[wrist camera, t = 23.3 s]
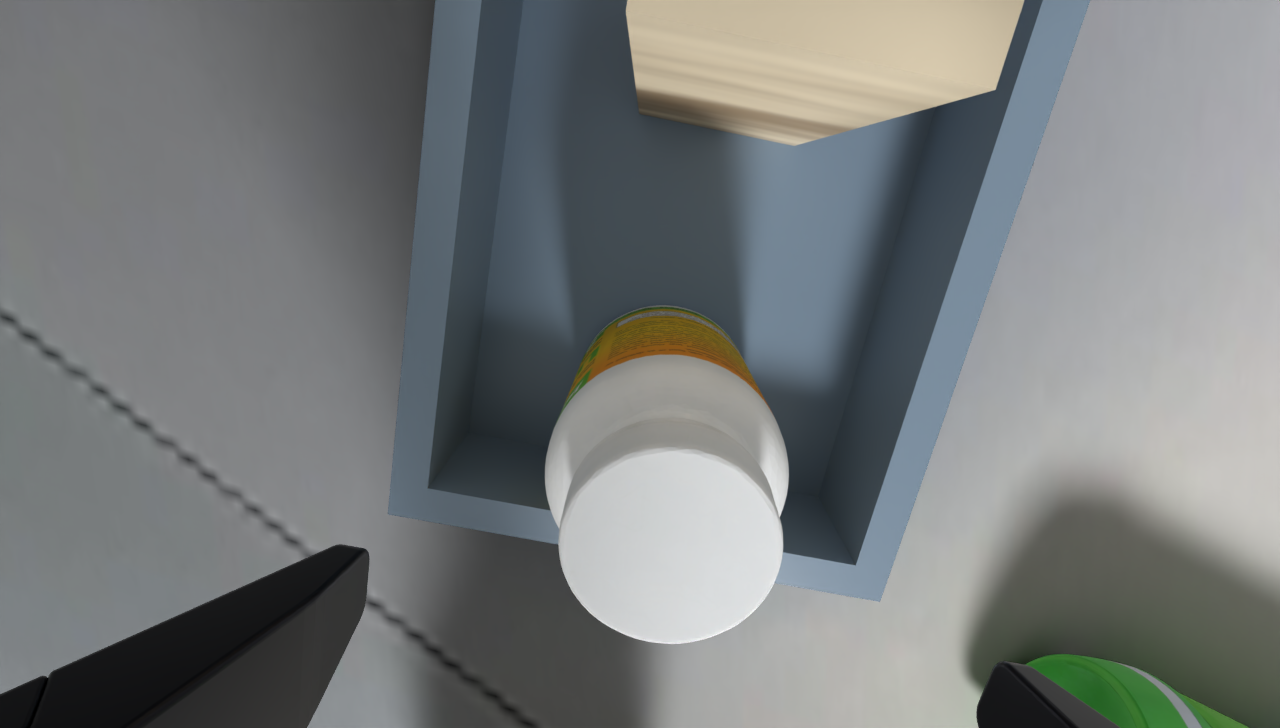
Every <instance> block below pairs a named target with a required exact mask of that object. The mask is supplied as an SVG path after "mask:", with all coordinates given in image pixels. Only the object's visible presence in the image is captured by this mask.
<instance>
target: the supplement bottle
mask: <svg viewBox="0 0 1280 728" xmlns="http://www.w3.org/2000/svg"><path fill="white" fill-rule="evenodd" d="M788 482H789V465H788V457H787V452H786V447H785V443H784V440H783V437H782V434H781V432H780V429H779V426H778V424H777V422H776V419H775V417H774V415H773V413H772V411H771V409H770V408H769V406H768V404H767V402H766V401H765V399H764V397H763V395H762V393H761V392H760V390H759V388H758V386H757V384H756V382H755V381H754V379H753V377H752V375H751V373H750V371H749V369H748V367H747V365H746V363H745V361H744V359H743V358H742V356H741V354H740V352H739V350H738V348H737V347H736V345H735V344H734V342H733V341H732V340H731V338H730V337H729V336H728V334H727V333H726V332H725V331H724V330H723V329H722V328H721V327H720V326H718V325H717V324H716V323H715V322H713V321H712V320H711V319H709V318H707V317H706V316H704V315H702V314H700V313H698V312H695V311H692V310H690V309H686V308H682V307H677V306H669V305H656V306H648V307H643V308H639V309H636V310H633V311H630V312H628V313H626V314H623V315H621V316H620V317H618V318H616V319H615V320H613V321H612V322H610V323H609V324H608V325H607V326H606V327H604V328H603V329H602V330H601V331H600V332H599V333H598V335H597V336H596V337H595V338H594V340H593V341H592V342H591V344H590V346H589V347H588V349H587V351H586V352H585V355H584V357H583V359H582V361H581V364H580V366H579V369H578V372H577V374H576V376H575V379H574V382H573V384H572V387H571V389H570V392H569V394H568V396H567V399H566V401H565V404H564V406H563V409H562V411H561V413H560V415H559V418H558V420H557V422H556V425H555V427H554V430H553V433H552V436H551V439H550V443H549V446H548V451H547V455H546V463H545V487H546V495H547V499H548V503H549V506H550V510H551V512H552V515H553V518H554V520H555V522H556V524H557V526H558V528H559V540H558V545H559V556H560V562H561V566H562V570H563V573H564V575H565V578H566V580H567V582H568V584H569V586H570V588H571V590H572V592H573V593H574V595H575V596H576V598H577V599H578V600H579V601H580V603H581V604H582V605H583V606H584V607H585V608H586V609H587V610H588V611H589V612H590V613H591V614H592V615H593V616H594V617H596V618H597V619H598V620H599V621H601V622H602V623H604V624H605V625H607V626H609V627H610V628H612V629H614V630H616V631H618V632H620V633H622V634H624V635H627V636H629V637H632V638H635V639H639V640H644V641H647V642H654V643H665V644H677V643H688V642H694V641H699V640H703V639H706V638H710V637H713V636H715V635H718V634H720V633H722V632H724V631H727V630H729V629H731V628H733V627H734V626H736V625H737V624H739V623H740V622H742V621H743V620H744V619H745V618H747V617H748V616H749V615H750V614H751V613H753V612H754V611H755V610H756V609H757V607H758V606H759V605H760V604H761V603H762V602H763V600H764V599H765V598H766V596H767V595H768V593H769V592H770V590H771V588H772V586H773V585H774V582H775V580H776V577H777V575H778V572H779V569H780V565H781V561H782V555H783V529H782V524H781V520H780V516H781V513H782V510H783V507H784V504H785V500H786V496H787V490H788Z"/></svg>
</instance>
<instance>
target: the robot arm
mask: <svg viewBox="0 0 1280 728" xmlns="http://www.w3.org/2000/svg"><path fill="white" fill-rule="evenodd" d="M368 571H369V553H368V551H367V550H366V549H364V548H359V547H353V546H348V545H342V544H339V545H335V546H332V547H330V548H328V549H326V550H323V551H321V552H319V553H317V554H315V555H312V556H310V557H308V558H306V559H303V560H301V561H299V562H297V563H294V564H292V565H290V566H288V567H285V568H283V569H281V570H279V571H276V572H274V573H272V574H270V575H267V576H265V577H263V578H261V579H258V580H256V581H254V582H252V583H249V584H247V585H245V586H243V587H241V588H238V589H236V590H234V591H232V592H229V593H227V594H225V595H223V596H220V597H218V598H216V599H214V600H211V601H209V602H207V603H205V604H202V605H200V606H198V607H196V608H193V609H191V610H189V611H187V612H184V613H182V614H180V615H178V616H175V617H173V618H171V619H169V620H167V621H164V622H162V623H160V624H158V625H155V626H153V627H151V628H149V629H146V630H144V631H142V632H140V633H137V634H135V635H133V636H131V637H128V638H126V639H124V640H122V641H119V642H117V643H115V644H113V645H110V646H108V647H106V648H104V649H101V650H99V651H97V652H95V653H92V654H90V655H88V656H86V657H83V658H81V659H79V660H77V661H74V662H72V663H70V664H68V665H65V666H63V667H61V668H59V669H56V670H54V671H53V672H51V673H50V675H49V677H48V678H47V677H46V676H40V677H38V678H36V679H34V680H31V681H29V682H27V683H25V684H22V685H20V686H18V687H16V688H14V689H11V690H9V691H7V692H5V693H2V694H0V728H307V726H308V725H309V723H310V721H311V719H312V717H313V715H314V713H315V711H316V709H317V707H318V705H319V703H320V701H321V699H322V697H323V695H324V693H325V691H326V689H327V687H328V685H329V682H330V680H331V678H332V676H333V674H334V672H335V670H336V668H337V666H338V664H339V662H340V660H341V658H342V656H343V654H344V652H345V649H346V647H347V645H348V643H349V641H350V639H351V637H352V635H353V633H354V631H355V629H356V627H357V625H358V623H359V621H360V618H361V616H362V613H363V611H364V607H365V603H366V595H367V583H368ZM977 722H978V726H979V728H1121V727H1119V726H1118V725H1116V724H1115V723H1113V722H1112V721H1110V720H1109V719H1107V718H1106V717H1104V716H1103V715H1101V714H1100V713H1099V712H1097V711H1096V710H1094V709H1093V708H1091V707H1090V706H1088V705H1087V704H1085V703H1084V702H1082V701H1081V700H1080V699H1078V698H1077V697H1075V696H1074V695H1072V694H1071V693H1069V692H1068V691H1066V690H1065V689H1063V688H1062V687H1061V686H1059V685H1058V684H1056V683H1055V682H1053V681H1052V680H1050V679H1049V678H1047V677H1046V676H1044V675H1043V674H1041V673H1040V672H1039V671H1037V670H1036V669H1034V668H1032V667H1030V666H1028V665H1024V664H1018V663H1012V662H1006V661H1002V662H999V663H997V664H996V665H995V666H994V668H993V670H992V672H991V674H990V677H989V679H988V681H987V684H986V686H985V689H984V691H983V693H982V696H981V698H980V700H979V703H978V706H977Z"/></svg>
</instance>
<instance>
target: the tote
mask: <svg viewBox="0 0 1280 728" xmlns="http://www.w3.org/2000/svg"><path fill="white" fill-rule="evenodd" d="M627 1H628V0H435V10H434V21H433V31H432V42H431V53H430V64H429V75H428V85H427V96H426V107H425V118H424V129H423V139H422V150H421V161H420V172H419V183H418V193H417V204H416V215H415V226H414V237H413V248H412V258H411V269H410V280H409V291H408V302H407V312H406V323H405V334H404V345H403V356H402V366H401V377H400V388H399V399H398V410H397V420H396V431H395V442H394V453H393V464H392V474H391V485H390V496H389V507H388V514H389V515H395V516H400V517H406V518H412V519H417V520H423V521H428V522H434V523H440V524H445V525H451V526H457V527H462V528H468V529H473V530H479V531H485V532H490V533H496V534H502V535H507V536H513V537H518V538H524V539H530V540H535V541H541V542H547V543H552V544H558V540H559V528H558V526H557V524H556V522H555V520H554V518H553V515H552V512H551V510H550V506H549V503H548V499H547V495H546V487H545V463H546V455H547V451H548V446H549V443H550V439H551V436H552V433H553V430H554V427H555V425H556V422H557V420H558V418H559V415H560V413H561V411H562V409H563V406H564V404H565V401H566V399H567V396H568V394H569V392H570V389H571V387H572V384H573V382H574V379H575V376H576V374H577V372H578V369H579V366H580V364H581V361H582V359H583V357H584V355H585V352H586V351H587V349H588V347H589V346H590V344H591V342H592V341H593V340H594V338H595V337H596V336H597V335H598V333H599V332H600V331H601V330H602V329H603V328H604V327H606V326H607V325H608V324H609V323H610V322H612V321H613V320H615V319H616V318H618V317H620V316H621V315H623V314H626V313H628V312H630V311H633V310H636V309H639V308H643V307H648V306H656V305H669V306H677V307H682V308H686V309H690V310H692V311H695V312H698V313H700V314H702V315H704V316H706V317H707V318H709V319H711V320H712V321H713V322H715V323H716V324H717V325H718V326H720V327H721V328H722V329H723V330H724V331H725V332H726V333H727V334H728V336H729V337H730V338H731V340H732V341H733V342H734V344H735V345H736V347H737V348H738V350H739V352H740V354H741V356H742V358H743V359H744V361H745V363H746V365H747V367H748V369H749V371H750V373H751V375H752V377H753V379H754V381H755V382H756V384H757V386H758V388H759V390H760V392H761V393H762V395H763V397H764V399H765V401H766V402H767V404H768V406H769V408H770V409H771V411H772V413H773V415H774V417H775V419H776V422H777V424H778V426H779V429H780V432H781V434H782V437H783V440H784V443H785V447H786V452H787V457H788V465H789V482H788V490H787V496H786V500H785V504H784V507H783V510H782V513H781V516H780V520H781V524H782V529H783V555H782V561H781V565H780V569H779V572H778V575H777V577H776V580H775V582H774V583H777V584H783V585H788V586H794V587H800V588H805V589H811V590H817V591H822V592H828V593H833V594H839V595H845V596H850V597H856V598H862V599H867V600H873V601H878V602H880V600H881V597H882V594H883V592H884V589H885V586H886V583H887V580H888V577H889V574H890V572H891V569H892V566H893V563H894V560H895V557H896V554H897V551H898V549H899V546H900V543H901V540H902V537H903V534H904V531H905V529H906V526H907V523H908V520H909V517H910V514H911V511H912V509H913V506H914V503H915V500H916V497H917V494H918V491H919V489H920V486H921V483H922V480H923V477H924V474H925V471H926V469H927V466H928V463H929V460H930V457H931V454H932V451H933V449H934V446H935V443H936V440H937V437H938V434H939V431H940V429H941V426H942V423H943V420H944V417H945V414H946V411H947V408H948V406H949V403H950V400H951V397H952V394H953V391H954V388H955V386H956V383H957V380H958V377H959V374H960V371H961V368H962V366H963V363H964V360H965V357H966V354H967V351H968V348H969V346H970V343H971V340H972V337H973V334H974V331H975V328H976V326H977V323H978V320H979V317H980V314H981V311H982V308H983V306H984V303H985V300H986V297H987V294H988V291H989V288H990V286H991V283H992V280H993V277H994V274H995V271H996V268H997V266H998V263H999V260H1000V257H1001V254H1002V251H1003V248H1004V245H1005V243H1006V240H1007V237H1008V234H1009V231H1010V228H1011V225H1012V223H1013V220H1014V217H1015V214H1016V211H1017V208H1018V205H1019V203H1020V200H1021V197H1022V194H1023V191H1024V188H1025V185H1026V183H1027V180H1028V177H1029V174H1030V171H1031V168H1032V165H1033V163H1034V160H1035V157H1036V154H1037V151H1038V148H1039V145H1040V143H1041V140H1042V137H1043V134H1044V131H1045V128H1046V125H1047V123H1048V120H1049V117H1050V114H1051V111H1052V108H1053V105H1054V103H1055V100H1056V97H1057V94H1058V91H1059V88H1060V85H1061V82H1062V80H1063V77H1064V74H1065V71H1066V68H1067V65H1068V62H1069V60H1070V57H1071V54H1072V51H1073V48H1074V45H1075V42H1076V40H1077V37H1078V34H1079V31H1080V28H1081V25H1082V22H1083V20H1084V17H1085V14H1086V11H1087V8H1088V5H1089V2H1090V0H1024V3H1023V6H1022V10H1021V13H1020V16H1019V19H1018V22H1017V25H1016V28H1015V31H1014V34H1013V37H1012V40H1011V44H1010V47H1009V50H1008V53H1007V56H1006V59H1005V62H1004V65H1003V68H1002V71H1001V74H1000V77H999V81H998V84H997V87H996V90H993V91H990V92H986V93H983V94H979V95H975V96H972V97H968V98H965V99H961V100H957V101H954V102H950V103H947V104H943V105H939V106H936V107H932V108H929V109H925V110H921V111H918V112H914V113H911V114H907V115H903V116H900V117H896V118H893V119H889V120H886V121H882V122H878V123H875V124H871V125H868V126H864V127H860V128H857V129H853V130H850V131H846V132H842V133H839V134H835V135H832V136H828V137H824V138H821V139H817V140H814V141H810V142H807V143H803V144H799V145H796V146H792V145H787V144H782V143H778V142H773V141H768V140H763V139H758V138H753V137H749V136H744V135H739V134H734V133H729V132H724V131H720V130H715V129H710V128H705V127H700V126H695V125H691V124H686V123H681V122H676V121H671V120H666V119H662V118H657V117H652V116H647V115H642V114H639V108H638V101H637V93H636V85H635V78H634V70H633V63H632V55H631V47H630V40H629V32H628V25H627V17H626V6H627Z"/></svg>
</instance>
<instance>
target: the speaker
mask: <svg viewBox="0 0 1280 728" xmlns="http://www.w3.org/2000/svg"><path fill="white" fill-rule="evenodd" d="M1025 665H1028V666H1030V667H1032V668H1034V669H1036V670H1037V671H1039V672H1040V673H1041V674H1043V675H1044V676H1046V677H1047V678H1049V679H1050V680H1052V681H1053V682H1055V683H1056V684H1058V685H1059V686H1061V687H1062V688H1063V689H1065V690H1066V691H1068V692H1069V693H1071V694H1072V695H1074V696H1075V697H1077V698H1078V699H1080V700H1081V701H1082V702H1084V703H1085V704H1087V705H1088V706H1090V707H1091V708H1093V709H1094V710H1096V711H1097V712H1099V713H1100V714H1101V715H1103V716H1104V717H1106V718H1107V719H1109V720H1110V721H1112V722H1113V723H1115V724H1116V725H1118V726H1119V727H1121V728H1249V727H1247V726H1245V725H1243V724H1241V723H1239V722H1237V721H1235V720H1233V719H1231V718H1229V717H1227V716H1225V715H1223V714H1221V713H1219V712H1217V711H1215V710H1213V709H1211V708H1209V707H1207V706H1205V705H1203V704H1201V703H1199V702H1197V701H1195V700H1193V699H1191V698H1189V697H1187V696H1185V695H1183V694H1181V693H1179V692H1177V691H1176V690H1174V689H1173V688H1172V687H1171V686H1169V685H1168V684H1166V683H1165V682H1164V681H1162V680H1160V679H1159V678H1157V677H1155V676H1153V675H1151V674H1149V673H1147V672H1145V671H1143V670H1141V669H1138V668H1135V667H1132V666H1129V665H1125V664H1121V663H1117V662H1113V661H1109V660H1104V659H1099V658H1093V657H1087V656H1079V655H1071V654H1052V655H1047V656H1043V657H1040V658H1037V659H1035V660H1033V661H1030V662H1029V663H1027V664H1025Z"/></svg>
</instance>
